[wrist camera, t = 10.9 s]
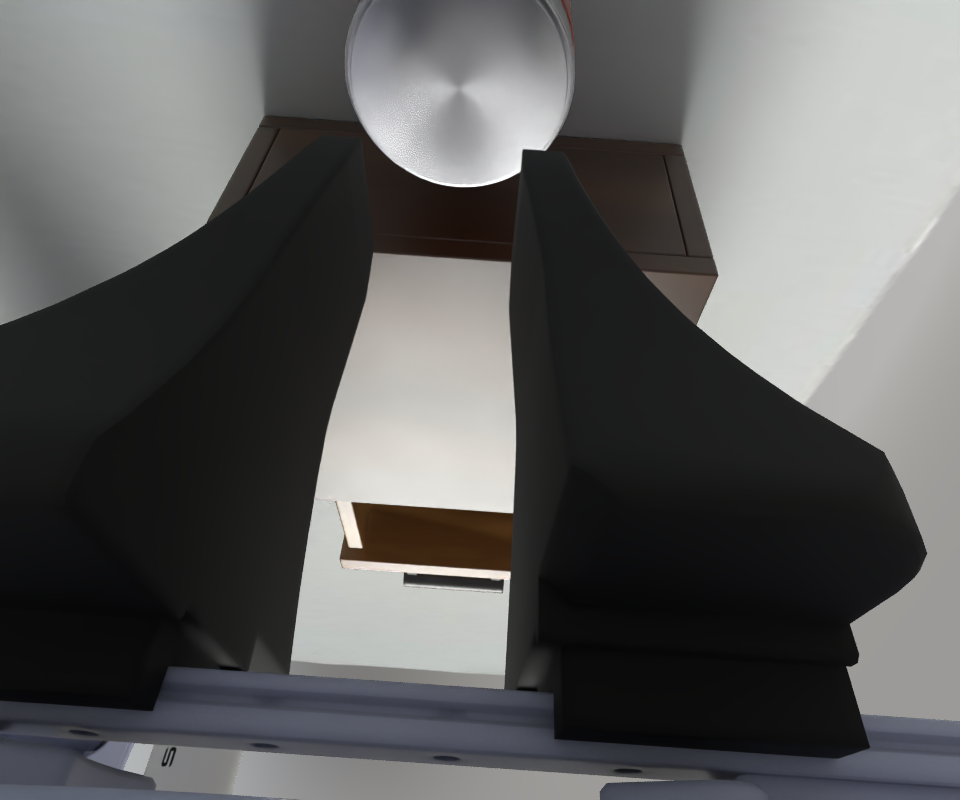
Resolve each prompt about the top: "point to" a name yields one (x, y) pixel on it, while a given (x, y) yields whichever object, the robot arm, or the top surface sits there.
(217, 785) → the travel mug
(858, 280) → the top surface
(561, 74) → the can
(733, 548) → the robot arm
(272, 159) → the organiser
